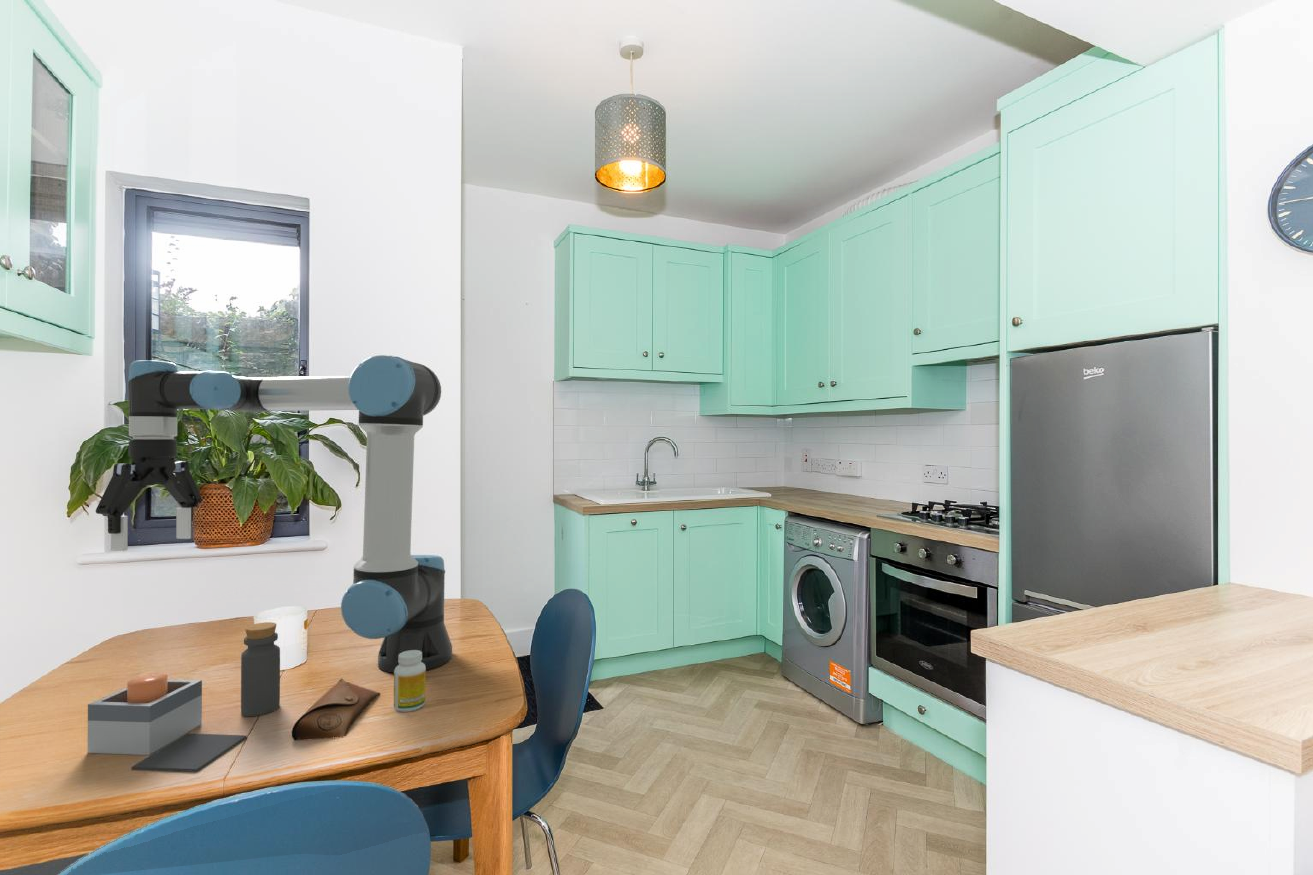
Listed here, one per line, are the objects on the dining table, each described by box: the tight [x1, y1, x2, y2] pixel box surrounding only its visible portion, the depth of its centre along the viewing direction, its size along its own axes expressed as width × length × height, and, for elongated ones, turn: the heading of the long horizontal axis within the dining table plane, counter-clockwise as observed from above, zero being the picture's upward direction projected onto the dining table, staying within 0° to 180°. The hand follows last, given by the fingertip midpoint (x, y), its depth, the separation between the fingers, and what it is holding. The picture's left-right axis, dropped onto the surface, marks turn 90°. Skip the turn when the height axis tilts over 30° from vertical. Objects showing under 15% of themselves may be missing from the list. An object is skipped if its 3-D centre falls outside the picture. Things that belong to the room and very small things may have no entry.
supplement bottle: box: [393, 650, 427, 713], centre depth 110 cm, size 5×5×10 cm
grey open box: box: [87, 678, 203, 756], centre depth 98 cm, size 10×10×8 cm
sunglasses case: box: [291, 678, 381, 741], centre depth 107 cm, size 18×7×7 cm
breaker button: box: [126, 672, 169, 703], centre depth 98 cm, size 5×5×6 cm
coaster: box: [131, 733, 248, 773], centre depth 93 cm, size 10×10×1 cm
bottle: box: [240, 621, 281, 717], centre depth 108 cm, size 6×6×15 cm
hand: (153, 544), depth 121 cm, fingers open, 13 cm apart
